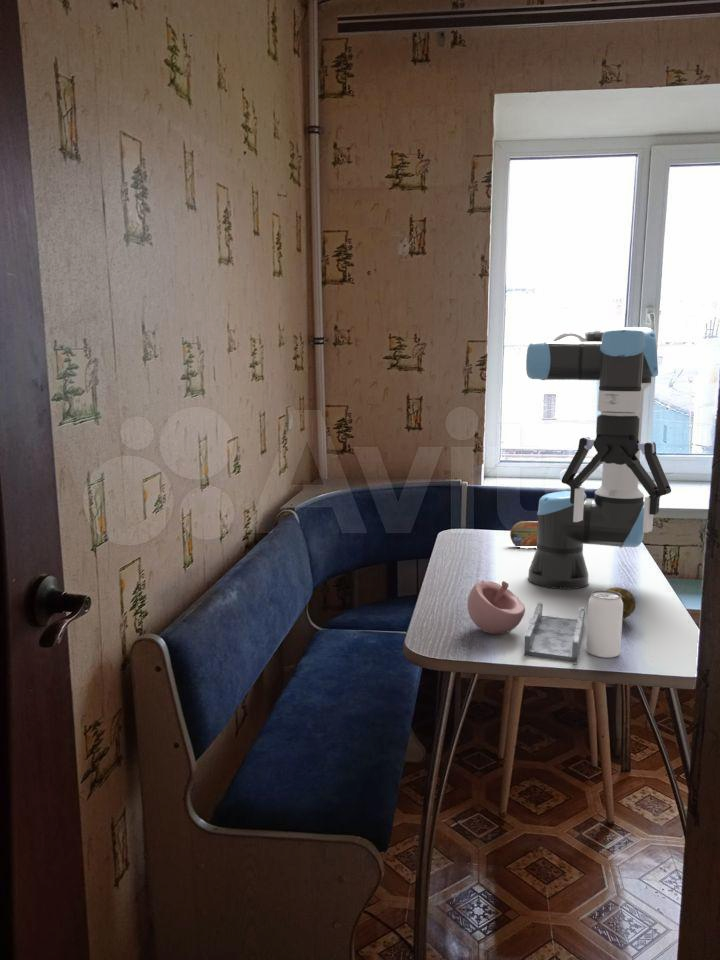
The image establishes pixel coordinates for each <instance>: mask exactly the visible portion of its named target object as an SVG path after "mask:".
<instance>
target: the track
mask: <svg viewBox="0 0 720 960" xmlns="http://www.w3.org/2000/svg"><path fill="white" fill-rule="evenodd" d="M543 604H544V602H540V601H538V602H537V605H536V606H535V610H534V611H533V614H532V617H531V619H530V621H529V625H528V627H527V629H526V632H525V635H524V646H523V647H524V648H523V656H526V657H532V658H540V659H547V660H548V659H549V660H555V661H562V662H568V663H569V662H571V663H577V662H578V660H579V659H578V658H579V653H580V648H581V643H582V637H583V632H584V627H585V617H586V616H585V615H586V607H584V606H580V607H579V610H578V616H577V619H575V618H567V617H566V618H565V617H558V616H556V617H555V616H547V615H543V607H544V606H543Z"/></svg>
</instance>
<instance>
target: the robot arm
mask: <svg viewBox="0 0 720 960" xmlns="http://www.w3.org/2000/svg"><path fill="white" fill-rule="evenodd" d="M657 349H658V348H657V337H656V333H655V331H654V329H652V328H649V327H639V326H633V327H632V326H631V327H630V326H629V327H628V326H626V327H625V326H624V327H587V328H586V327H585V328H580V329H575V330H572V331H568V332H565V333H563V334H560V335H558V336H557V337H556V338H555V339H553V341H538V342H531V343H529V344H528V346H527V349H526V350H527V351H526V360H525V363H526V364H525V365H526V366H525V367H526V368H525V370H526V375H527V377H528V378H529V379H532V380H540V381H547V380H549V381H552V380H553V381H554V380H555V381H564V380H565V381H569V380H571V381H573V380H574V381H598V382H599V383H598V384H599V386H598V398H597V411H598V412H600V414H598V415H597V416H596V430H595V433H596V434H595V435H596V437H595V439H594V438H593V439H592V438H591V437H589V436H587V437H581V438H579V442H578V447H577V450H576V452H575V454H574V455H573V458H572V459H571V461H570V463H569V465H568V467H567V469H566V471H565V472H564V474H563V476H562V478H561V483H562V484H564V485H567V486H569V488H570V490H565V491H554V492H551V493H546V494H544V495H542V496H541V497H540V498H539V501H538V508H537V509H538V510H537V511H536V512H537V513H536V515H537V521H538V529H537V549H535V553H534V556H533V558H532V560H531V563H530V567H529V569H528V580H529V581H530V582H531V583H533V584H535V585H537V586H542V587H546V588H553V589H561V590H563V589H564V590H565V589H566V590H567V589H570V590H571V589H579V588H584V587H585V586H587V585H588V584H589V571H588V568H587V564H586V561H585V557H584V553H583V552H584V545H594V546H596V545H597V546H606V547H607V546H608V547H618V548H621V549H623V548H637V547H639V546H640V545H641V544H642V543H643V538H644V534H646V533H647V534H648V533H650V532H652V531H653V526H654V525H653V524H654V523H653V522H654V515H657V514H658V513H659V510H660V500H661V497H662V496H665V495H668V494H670V493H671V492H672V488H671V486H670V484H669V481H668V479H667V476H666V474H665V471H664V469H663V467H662V465H661V462H660V460H659V458H658V457H659V456H658V455H657V445H656V443H655V442H654V441H650V442H642V428H643V427H642V425H643V412H644V396H645V395H644V394H645V391H646V390H647V388H648V387H649V386H650V385H651V384H652V377H653V378H655V377H657V376H658V375H659V367H658V366H659V365H658V364H659V363H658V350H657ZM593 447H594V449H595V450H596V454H595V455H594V456H593V457H592V458H591V460H590V461H589V463H588V464H587V465H586V466H584V468H582V470H581V471H580V472H579V469H580V468H581V466H582V464H583V462H584V461H585V459H586V456H587V455H588V453H589V451H590V450H592V448H593ZM641 454H642V455H644V457H645V460H646V463H647V466H648V468H649V470H650V473H651V475H652V477H653V478H651V476H650V474H648V472H647V470H646V469H645V468H644V466H643V465H642V463H641V461H640V460H641V459H640V458H641ZM601 464H602V470H601V471H602V472H601V473H602V474H601V486H600V487H599V488H597V489H596V490H595V491H594V498H588V497H587V494H586V493H585V489H586V488H585V487H584V486H582V485H583V483H584V482H586V480H587V479H588V478H589V477H590V476H591V475H592V474H593V473H594V472H595V471H596V470H597V469H598V468H599V467H600V466H601ZM578 472H579V473H578ZM577 473H578V474H577ZM653 479H654V480H653ZM639 483H640V485H641V486H642V487H643V488H644V490H645V491H646V492H647V494H648V496H647V495H646V496H644V493H643V492H642V491H641V490H640V489H639Z"/></svg>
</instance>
